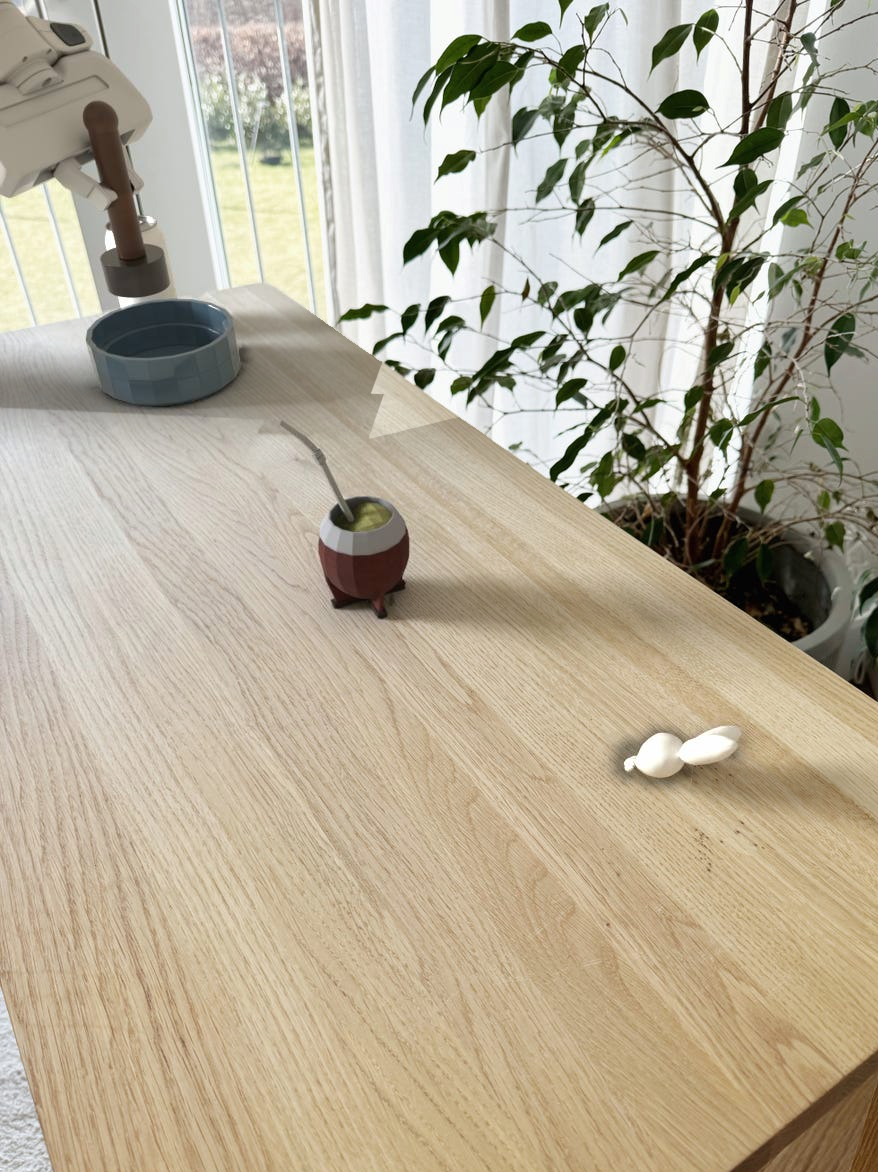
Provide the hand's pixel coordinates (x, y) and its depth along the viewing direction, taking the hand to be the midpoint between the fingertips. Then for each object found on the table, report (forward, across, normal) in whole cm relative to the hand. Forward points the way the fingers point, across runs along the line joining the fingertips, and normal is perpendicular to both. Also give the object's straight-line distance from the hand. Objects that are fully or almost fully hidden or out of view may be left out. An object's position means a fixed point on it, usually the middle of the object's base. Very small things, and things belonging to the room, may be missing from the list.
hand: (124, 198), depth 93 cm
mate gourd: (+39, -23, -10) cm, 46 cm away
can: (+6, +14, +23) cm, 27 cm away
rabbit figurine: (+59, -32, -31) cm, 74 cm away
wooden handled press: (+6, 0, +6) cm, 8 cm away
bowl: (+12, +4, +16) cm, 21 cm away
